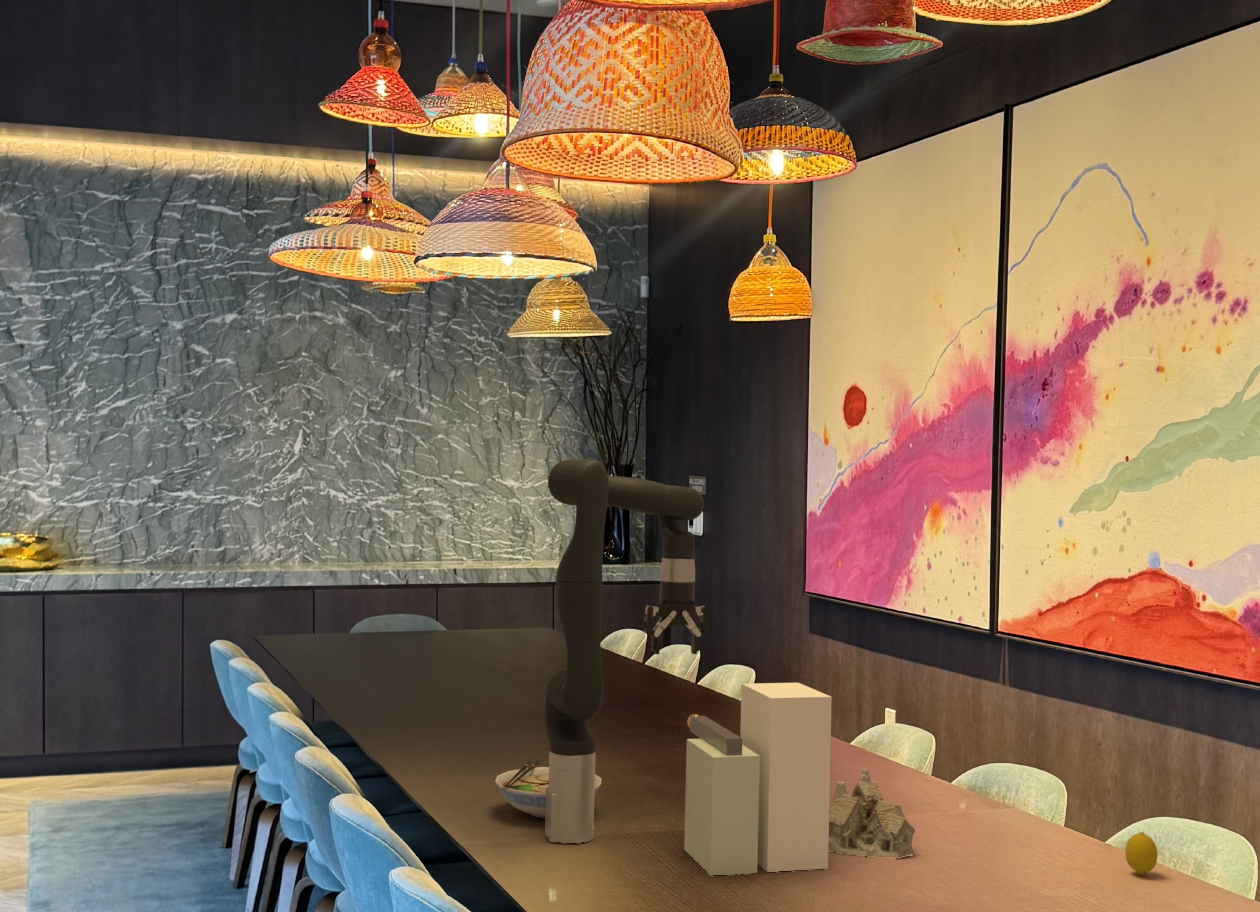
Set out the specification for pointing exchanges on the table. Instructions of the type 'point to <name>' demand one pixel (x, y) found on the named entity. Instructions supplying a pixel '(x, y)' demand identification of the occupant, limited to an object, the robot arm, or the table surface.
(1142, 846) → the lemon
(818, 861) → the white stand
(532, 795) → the ramen bowl
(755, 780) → the beige rectangular block
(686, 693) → the table surface
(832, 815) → the ceramic cottage
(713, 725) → the rod
